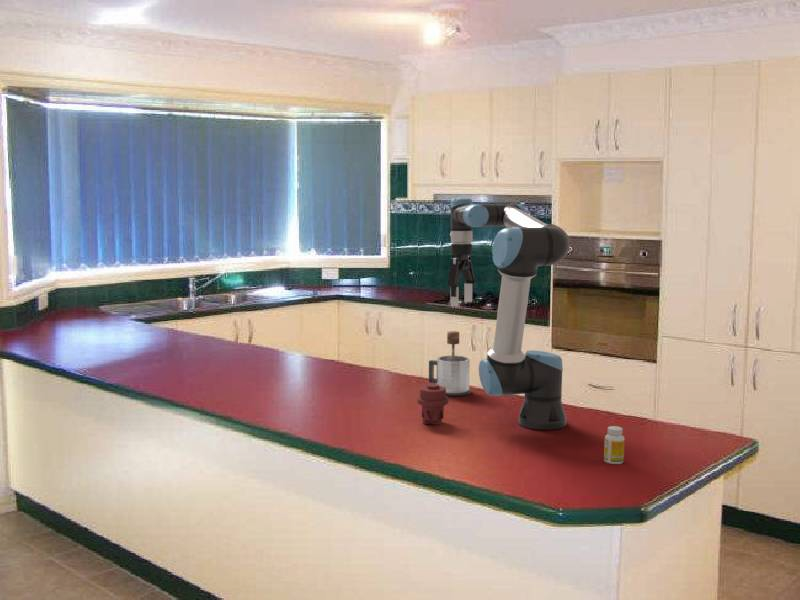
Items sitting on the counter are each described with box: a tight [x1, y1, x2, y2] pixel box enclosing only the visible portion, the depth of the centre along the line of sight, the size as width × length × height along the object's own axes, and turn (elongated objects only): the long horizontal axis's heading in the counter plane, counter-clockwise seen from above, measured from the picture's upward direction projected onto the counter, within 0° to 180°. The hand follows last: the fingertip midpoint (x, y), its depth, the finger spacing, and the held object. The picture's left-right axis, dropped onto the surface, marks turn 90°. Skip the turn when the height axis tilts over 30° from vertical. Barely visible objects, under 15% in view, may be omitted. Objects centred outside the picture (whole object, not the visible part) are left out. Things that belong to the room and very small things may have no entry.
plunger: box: [446, 330, 460, 362], centre depth 325 cm, size 8×8×21 cm
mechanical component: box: [416, 383, 450, 425], centre depth 286 cm, size 12×10×10 cm
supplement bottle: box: [603, 425, 626, 465], centre depth 248 cm, size 5×5×10 cm
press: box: [428, 355, 472, 398], centre depth 326 cm, size 16×13×12 cm
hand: (461, 304), depth 312 cm, fingers open, 13 cm apart
